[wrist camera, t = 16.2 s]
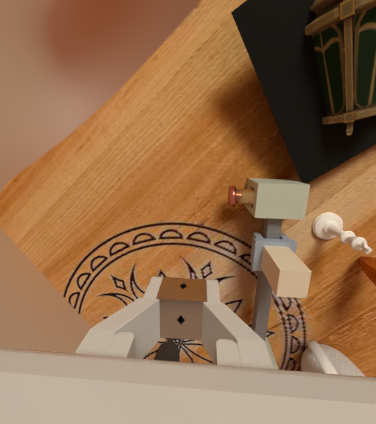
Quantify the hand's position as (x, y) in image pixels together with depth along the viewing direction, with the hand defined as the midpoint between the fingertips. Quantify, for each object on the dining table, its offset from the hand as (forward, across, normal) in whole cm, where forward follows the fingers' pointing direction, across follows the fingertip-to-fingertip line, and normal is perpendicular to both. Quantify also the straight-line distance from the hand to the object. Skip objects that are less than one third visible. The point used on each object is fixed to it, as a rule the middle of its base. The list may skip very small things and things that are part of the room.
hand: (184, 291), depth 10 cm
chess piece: (+29, -23, +6) cm, 37 cm away
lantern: (+29, -18, -20) cm, 40 cm away
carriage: (+25, -12, +9) cm, 29 cm away
